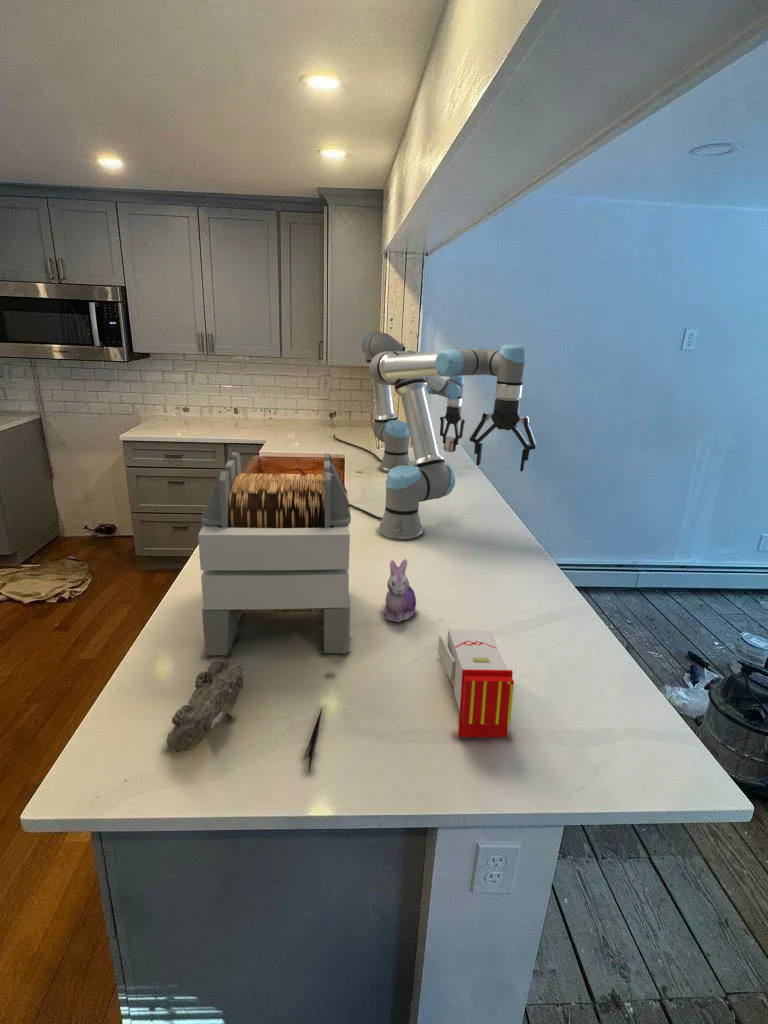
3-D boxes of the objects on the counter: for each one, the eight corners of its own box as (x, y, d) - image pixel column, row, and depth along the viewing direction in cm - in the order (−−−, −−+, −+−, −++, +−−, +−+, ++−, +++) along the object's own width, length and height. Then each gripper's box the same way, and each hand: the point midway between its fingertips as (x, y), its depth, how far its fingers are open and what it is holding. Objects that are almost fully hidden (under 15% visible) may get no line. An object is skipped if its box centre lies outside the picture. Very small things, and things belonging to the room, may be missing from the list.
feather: (331, 679, 122) (336, 673, 122) (307, 777, 96) (313, 769, 95) (324, 675, 122) (329, 669, 121) (298, 772, 95) (304, 764, 95)
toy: (488, 613, 130) (523, 677, 101) (484, 667, 133) (517, 744, 104) (435, 612, 130) (455, 676, 101) (432, 666, 133) (451, 743, 103)
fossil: (192, 660, 117) (244, 628, 112) (224, 691, 120) (276, 661, 115) (142, 746, 98) (202, 712, 93) (182, 779, 101) (242, 748, 96)
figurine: (392, 627, 141) (395, 572, 136) (374, 608, 149) (376, 556, 144) (425, 619, 145) (429, 566, 140) (405, 601, 154) (408, 550, 149)
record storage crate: (226, 586, 157) (217, 442, 143) (344, 585, 161) (346, 445, 147) (202, 658, 125) (189, 482, 112) (350, 654, 129) (354, 483, 115)
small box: (452, 452, 298) (453, 438, 295) (444, 451, 299) (445, 437, 297) (454, 451, 302) (456, 436, 300) (446, 449, 304) (448, 435, 301)
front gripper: (552, 401, 168) (542, 469, 176) (469, 393, 177) (463, 459, 184) (549, 404, 162) (539, 475, 169) (463, 396, 170) (457, 464, 177)
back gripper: (472, 407, 293) (467, 451, 301) (440, 403, 299) (436, 446, 307) (468, 408, 287) (463, 453, 294) (435, 405, 292) (431, 449, 300)
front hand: (499, 467), depth 176 cm, fingers open, 13 cm apart
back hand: (449, 450), depth 301 cm, fingers closed on small box, 4 cm apart
